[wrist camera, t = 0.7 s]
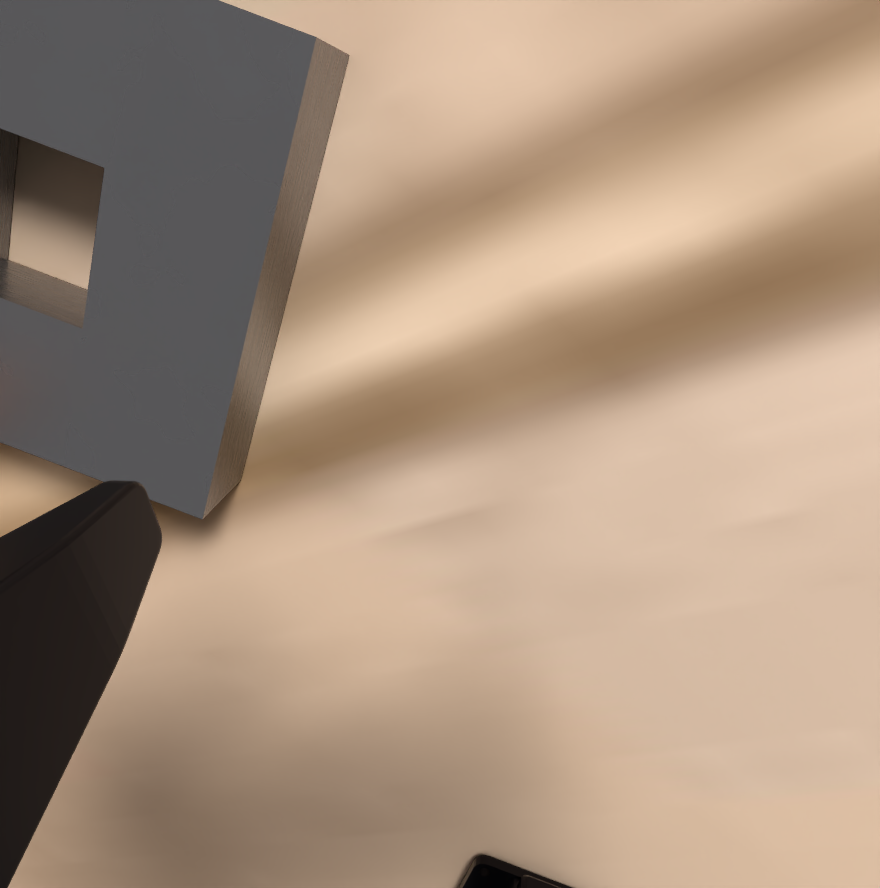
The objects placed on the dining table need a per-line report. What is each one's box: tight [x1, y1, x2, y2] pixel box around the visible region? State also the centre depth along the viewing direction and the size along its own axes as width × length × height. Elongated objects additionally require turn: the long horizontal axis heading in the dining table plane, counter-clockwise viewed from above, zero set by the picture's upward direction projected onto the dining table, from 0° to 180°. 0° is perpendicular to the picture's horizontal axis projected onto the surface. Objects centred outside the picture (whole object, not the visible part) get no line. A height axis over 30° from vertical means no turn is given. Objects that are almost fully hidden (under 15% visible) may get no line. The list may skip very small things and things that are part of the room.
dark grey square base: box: [0, 0, 349, 519], centre depth 21 cm, size 14×14×3 cm
